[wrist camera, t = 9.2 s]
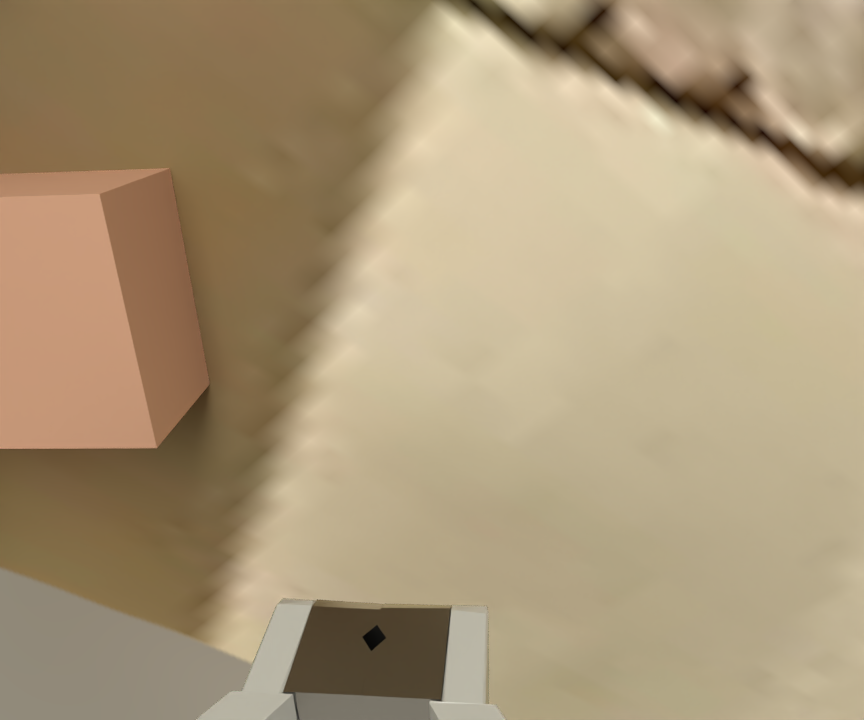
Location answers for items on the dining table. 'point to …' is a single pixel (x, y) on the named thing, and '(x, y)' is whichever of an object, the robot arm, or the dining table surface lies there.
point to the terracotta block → (94, 311)
